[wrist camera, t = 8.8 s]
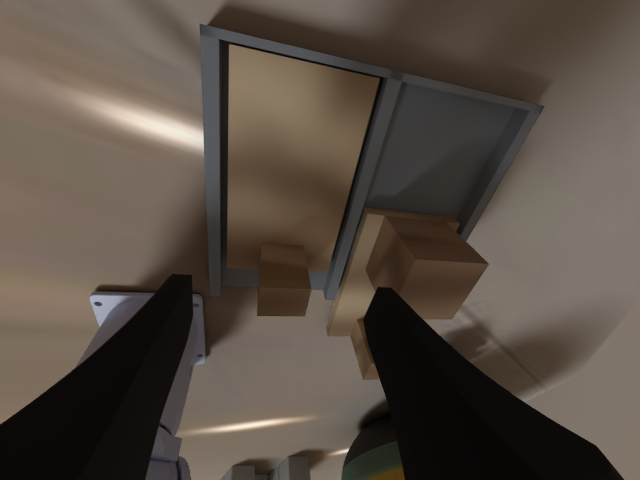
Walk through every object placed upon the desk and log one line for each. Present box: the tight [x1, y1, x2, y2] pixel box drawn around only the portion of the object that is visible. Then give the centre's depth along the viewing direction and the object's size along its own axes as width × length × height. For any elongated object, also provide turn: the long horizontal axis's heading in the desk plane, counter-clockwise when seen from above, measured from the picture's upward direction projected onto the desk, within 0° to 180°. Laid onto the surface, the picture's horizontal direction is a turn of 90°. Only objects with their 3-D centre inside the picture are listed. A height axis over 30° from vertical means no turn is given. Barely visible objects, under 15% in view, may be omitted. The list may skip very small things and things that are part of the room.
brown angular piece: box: [326, 207, 460, 380], centre depth 22 cm, size 14×8×5 cm, turn 169°
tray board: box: [200, 24, 544, 300], centre depth 19 cm, size 17×20×2 cm
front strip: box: [227, 44, 380, 316], centre depth 16 cm, size 14×8×5 cm, turn 169°
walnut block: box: [365, 216, 489, 319], centre depth 19 cm, size 5×5×5 cm
